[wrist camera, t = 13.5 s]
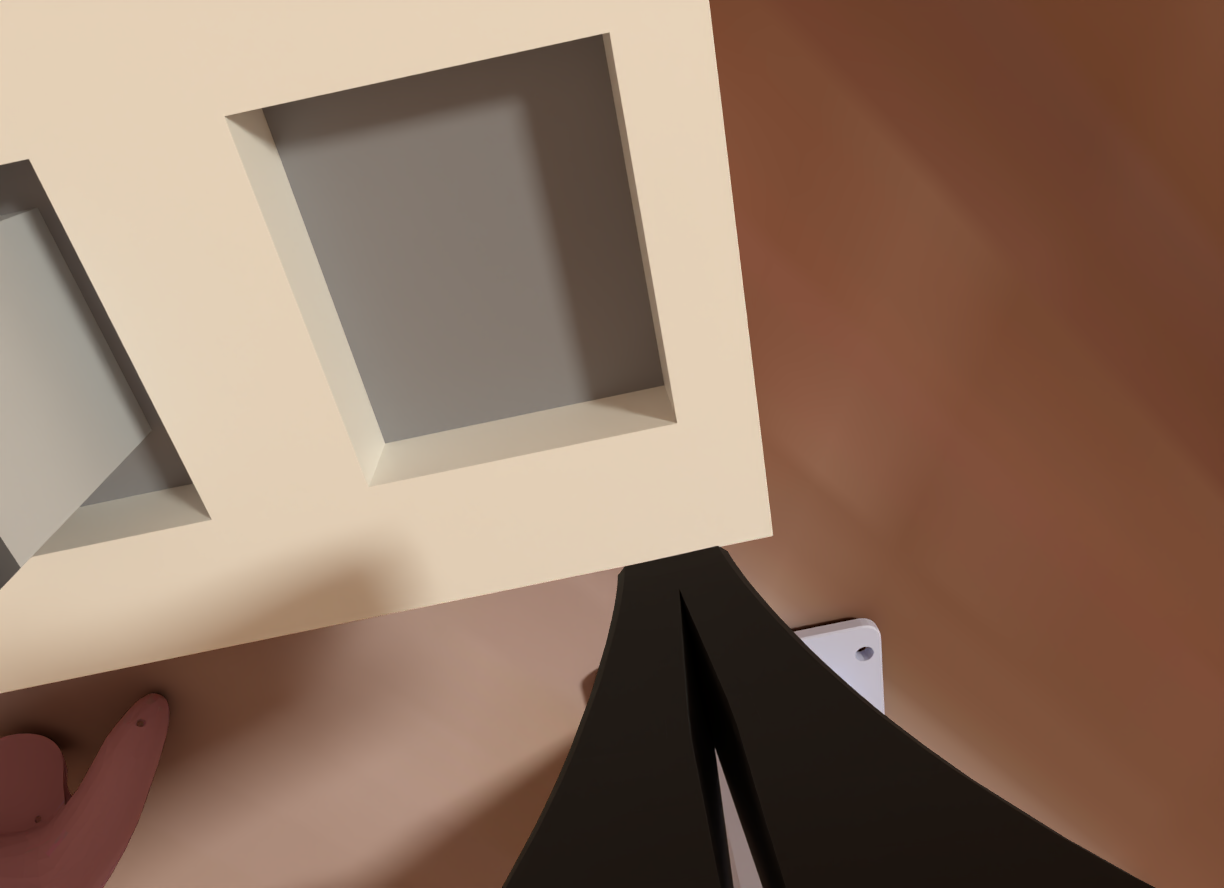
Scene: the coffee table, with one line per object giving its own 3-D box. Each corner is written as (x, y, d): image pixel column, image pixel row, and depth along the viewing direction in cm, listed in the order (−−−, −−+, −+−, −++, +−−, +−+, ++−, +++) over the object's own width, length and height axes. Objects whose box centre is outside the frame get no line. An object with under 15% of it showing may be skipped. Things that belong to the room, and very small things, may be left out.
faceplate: (748, 480, 21) (772, 535, 18) (-11, 636, 21) (-76, 708, 19) (658, -199, 14) (680, -240, 12) (-437, 46, 15) (-611, 50, 12)
